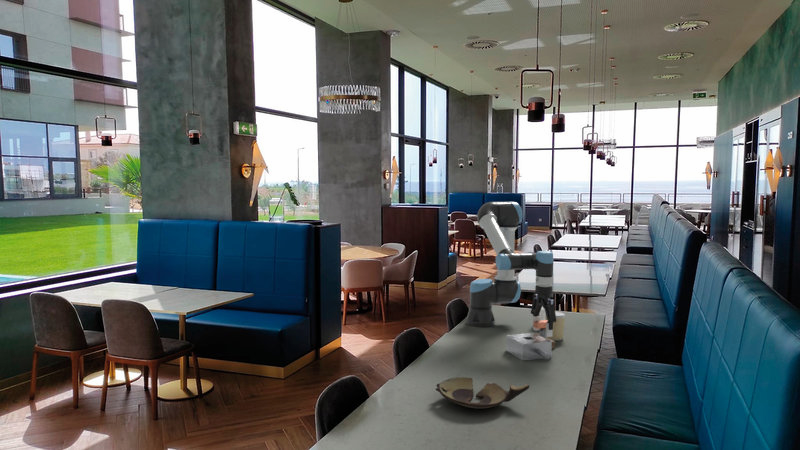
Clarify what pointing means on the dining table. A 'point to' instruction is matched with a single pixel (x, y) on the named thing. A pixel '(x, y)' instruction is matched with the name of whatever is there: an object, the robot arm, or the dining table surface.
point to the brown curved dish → (462, 393)
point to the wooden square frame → (552, 342)
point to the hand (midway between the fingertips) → (542, 333)
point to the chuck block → (529, 346)
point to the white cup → (542, 314)
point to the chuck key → (541, 327)
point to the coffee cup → (558, 326)
